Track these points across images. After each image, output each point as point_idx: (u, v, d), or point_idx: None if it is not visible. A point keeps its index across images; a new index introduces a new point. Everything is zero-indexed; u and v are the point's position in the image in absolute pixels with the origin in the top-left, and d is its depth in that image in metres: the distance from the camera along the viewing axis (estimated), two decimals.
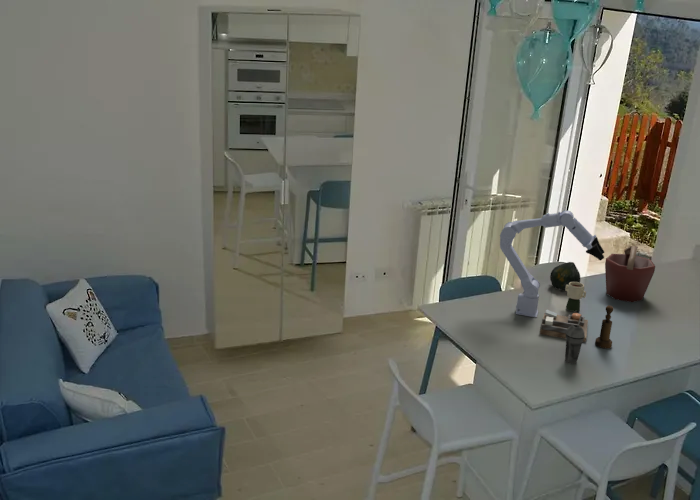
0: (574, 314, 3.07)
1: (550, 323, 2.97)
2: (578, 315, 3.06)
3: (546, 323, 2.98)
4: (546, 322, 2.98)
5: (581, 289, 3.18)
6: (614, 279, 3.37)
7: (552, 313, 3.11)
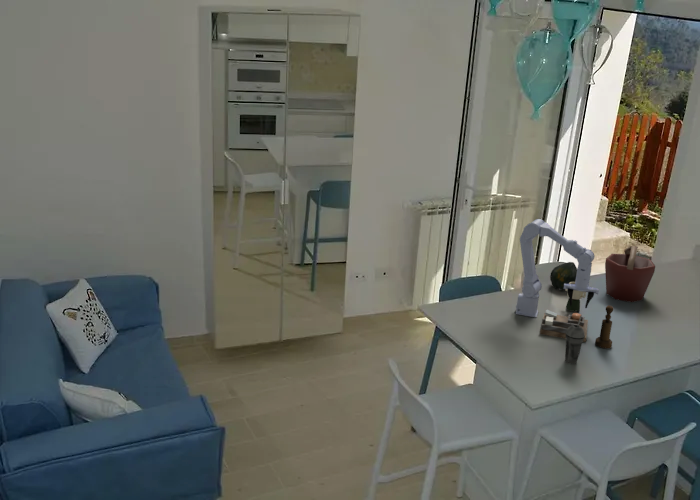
0: (574, 314, 3.07)
1: (550, 323, 2.97)
2: (578, 315, 3.06)
3: (546, 323, 2.98)
4: (546, 322, 2.98)
5: None
6: (614, 279, 3.37)
7: (552, 313, 3.11)
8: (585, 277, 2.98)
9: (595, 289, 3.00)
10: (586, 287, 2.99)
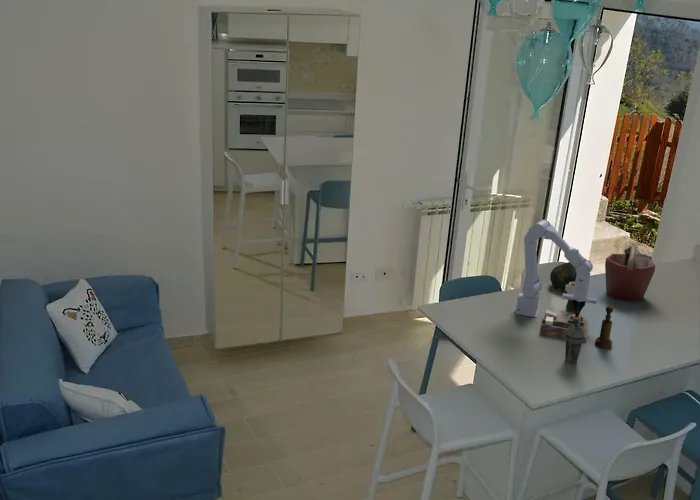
0: (574, 315, 3.07)
1: (550, 323, 2.97)
2: None
3: (546, 323, 2.98)
4: (546, 322, 2.98)
5: None
6: (614, 279, 3.37)
7: (552, 313, 3.11)
8: (583, 287, 2.99)
9: (593, 299, 3.02)
10: (584, 297, 3.01)
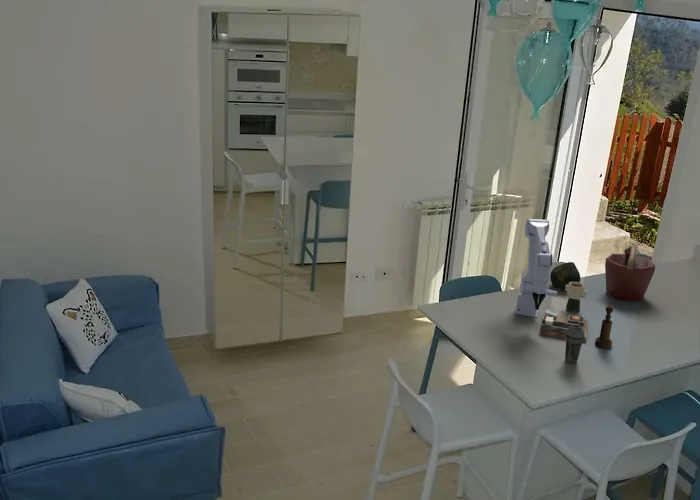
0: (574, 317, 3.07)
1: (550, 323, 2.97)
2: (578, 318, 3.06)
3: (546, 323, 2.98)
4: (546, 322, 2.98)
5: (581, 289, 3.18)
6: (614, 279, 3.37)
7: (552, 313, 3.11)
8: (536, 278, 2.94)
9: (553, 292, 2.95)
10: (544, 290, 2.94)
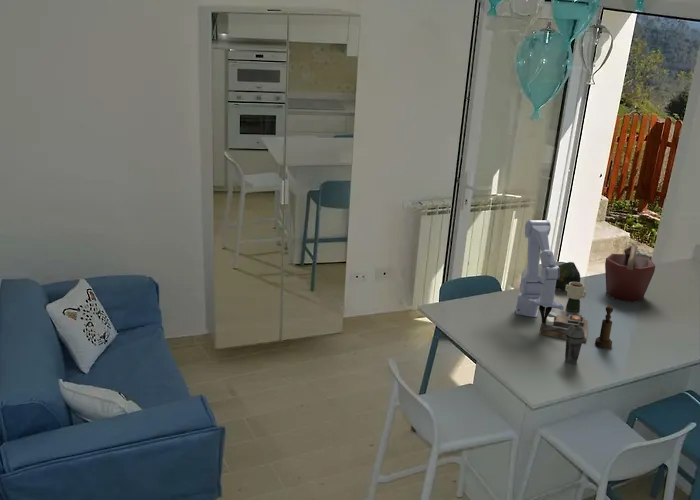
0: (574, 317, 3.07)
1: (551, 323, 2.97)
2: (578, 318, 3.06)
3: (547, 323, 2.98)
4: (547, 322, 2.97)
5: (581, 289, 3.18)
6: (614, 279, 3.37)
7: (552, 313, 3.11)
8: (543, 291, 2.94)
9: (560, 305, 2.96)
10: (551, 303, 2.95)
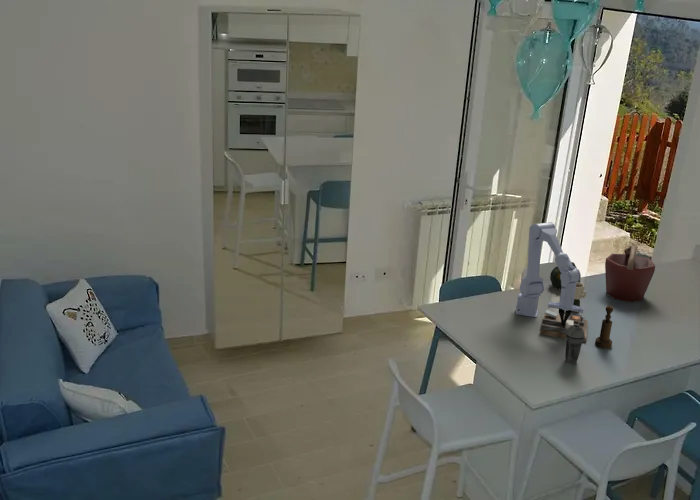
0: (574, 317, 3.07)
1: None
2: (578, 318, 3.06)
3: (566, 327, 2.95)
4: (566, 326, 2.95)
5: (581, 289, 3.18)
6: (614, 279, 3.37)
7: (552, 313, 3.11)
8: (565, 295, 2.91)
9: (580, 308, 2.93)
10: (570, 306, 2.92)
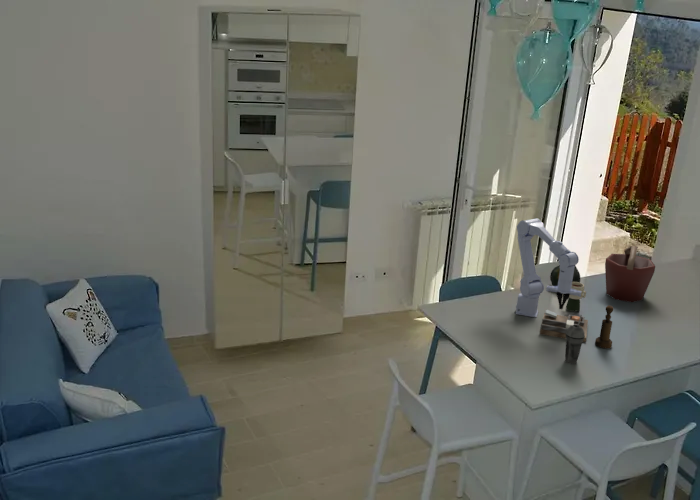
0: (574, 317, 3.07)
1: None
2: (578, 318, 3.06)
3: (567, 327, 2.95)
4: (567, 326, 2.95)
5: (581, 289, 3.18)
6: (614, 279, 3.37)
7: (552, 313, 3.11)
8: (564, 279, 2.95)
9: (578, 291, 2.97)
10: (568, 289, 2.96)
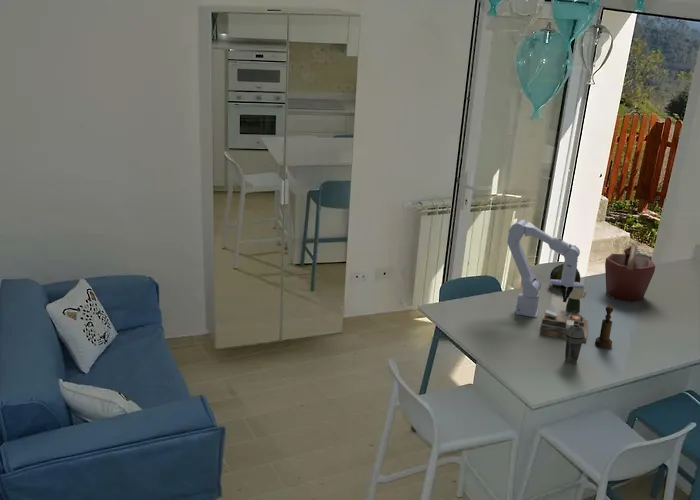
0: (574, 317, 3.07)
1: None
2: (578, 318, 3.06)
3: (567, 327, 2.95)
4: (567, 326, 2.95)
5: (581, 289, 3.18)
6: (614, 279, 3.37)
7: (552, 313, 3.11)
8: (572, 273, 3.02)
9: (581, 284, 3.05)
10: (572, 283, 3.04)
